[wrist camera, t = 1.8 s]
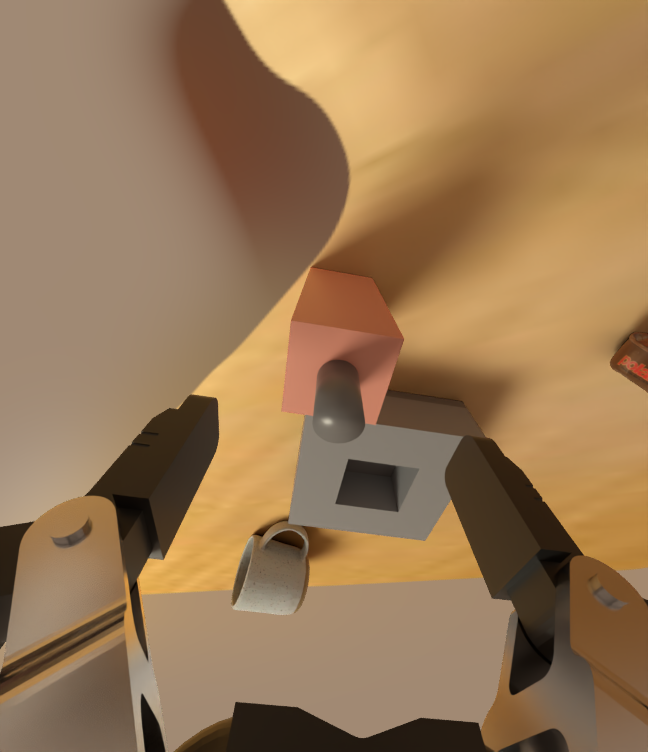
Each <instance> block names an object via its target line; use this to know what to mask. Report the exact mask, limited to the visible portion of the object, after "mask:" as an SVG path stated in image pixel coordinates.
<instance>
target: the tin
mask: <svg viewBox="0 0 648 752" xmlns="http://www.w3.org/2000/svg"><path fill="white" fill-rule="evenodd" d="M610 365H611V368H612V369H613V370H615V371H616V372H619V373H621V374H622V375H623V376H625V377H626V378H627V379H629V380H630V381H632V382H633V383H635V384H636V385H638V386H639V387H641V388H642V389H644V390H645V391H646V392H647V393H648V333H639V332H636V333H632V334H631V335H630V338H629V339H628V340H627V341H626V342H625V344H624V345H623V346H622V347H621V348H620V349H619V350H618V351H617V352H616V353H615V355H614V356H613V357H612V359H611V361H610Z"/></svg>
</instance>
